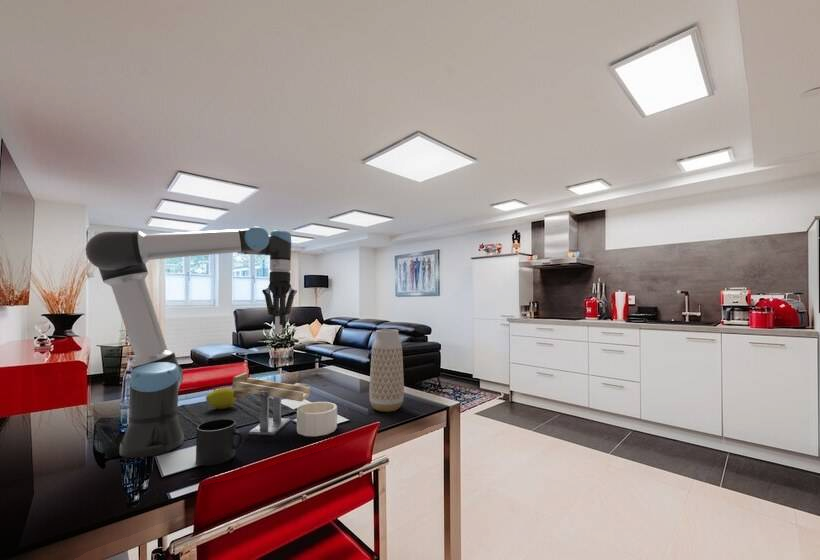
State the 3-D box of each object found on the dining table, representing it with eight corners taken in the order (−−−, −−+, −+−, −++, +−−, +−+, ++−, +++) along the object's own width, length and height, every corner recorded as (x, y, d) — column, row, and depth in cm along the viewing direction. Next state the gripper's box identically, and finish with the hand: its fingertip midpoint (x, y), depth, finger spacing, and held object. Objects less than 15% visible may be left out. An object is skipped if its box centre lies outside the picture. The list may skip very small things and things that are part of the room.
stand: (249, 434, 113) (250, 392, 114) (268, 420, 126) (269, 382, 127) (273, 435, 113) (274, 393, 113) (290, 420, 126) (290, 383, 126)
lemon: (239, 404, 144) (239, 384, 144) (234, 410, 136) (235, 389, 137) (209, 406, 141) (209, 386, 141) (203, 413, 134) (203, 391, 134)
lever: (230, 397, 118) (233, 376, 118) (253, 385, 132) (256, 367, 133) (300, 408, 116) (303, 388, 116) (315, 395, 130) (318, 377, 131)
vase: (410, 406, 143) (410, 329, 144) (390, 416, 131) (391, 332, 133) (382, 400, 150) (383, 328, 152) (361, 409, 139) (362, 330, 140)
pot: (290, 435, 113) (291, 413, 113) (305, 421, 125) (305, 401, 125) (329, 436, 112) (330, 414, 112) (340, 422, 124) (340, 402, 124)
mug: (236, 465, 93) (237, 430, 93) (188, 467, 92) (189, 431, 92) (249, 449, 102) (250, 417, 103) (206, 451, 101) (207, 419, 101)
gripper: (258, 270, 132) (256, 334, 131) (292, 270, 131) (290, 335, 130) (268, 272, 140) (267, 332, 139) (300, 272, 139) (299, 332, 138)
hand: (278, 333), depth 134 cm, fingers closed
